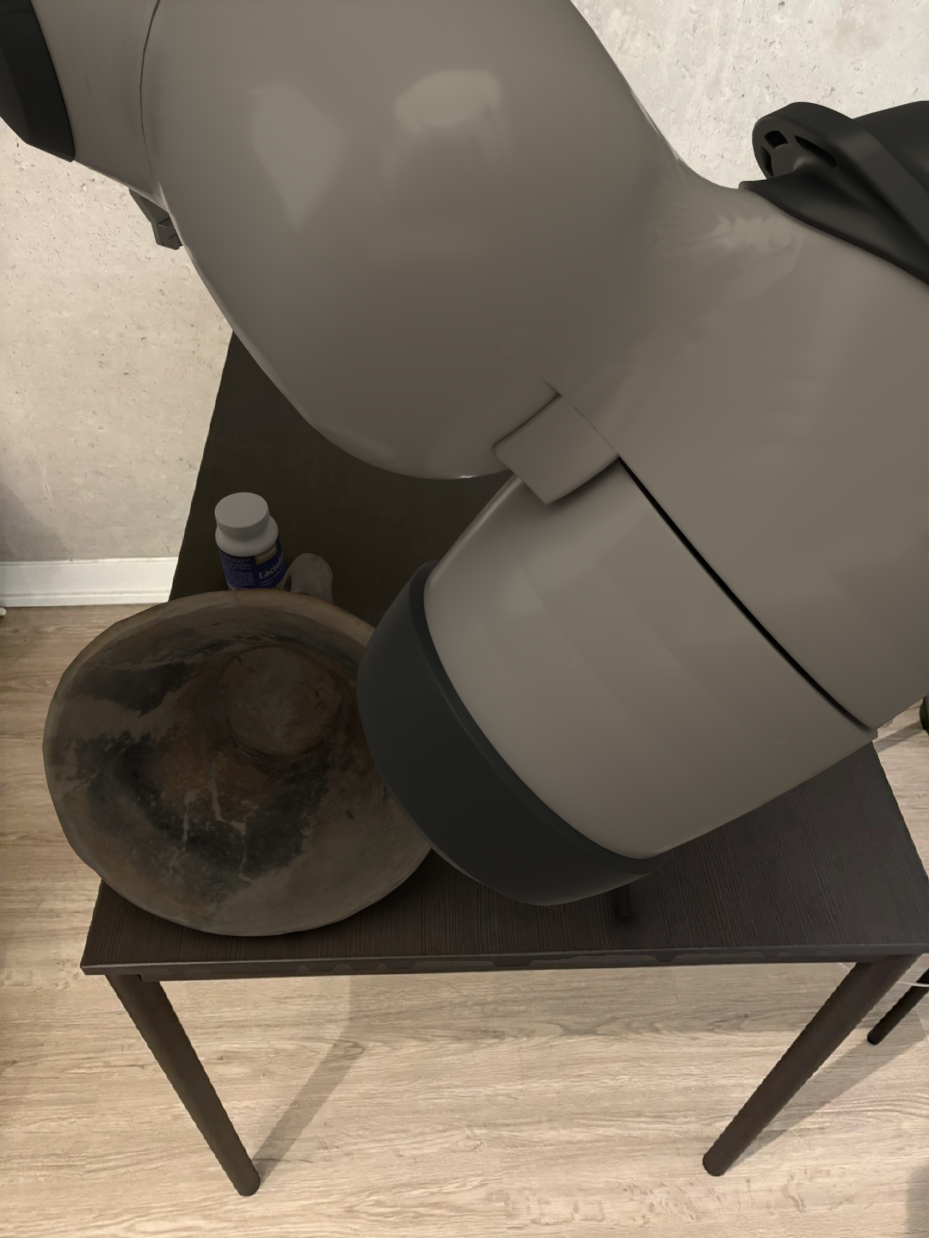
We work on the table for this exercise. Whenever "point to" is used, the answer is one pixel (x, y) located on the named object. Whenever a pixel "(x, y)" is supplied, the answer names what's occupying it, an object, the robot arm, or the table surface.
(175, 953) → the table surface
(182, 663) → the bowl
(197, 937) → the table surface
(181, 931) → the table surface
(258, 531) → the pill bottle
